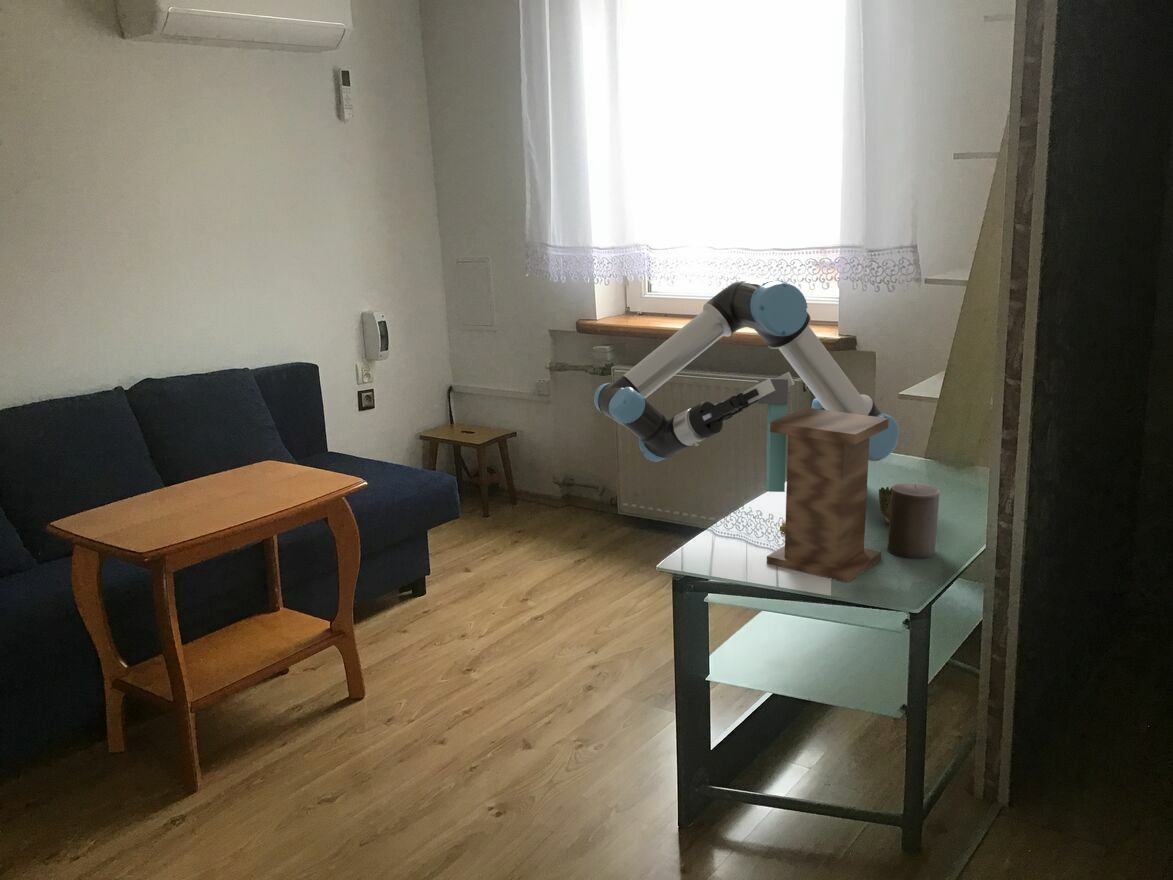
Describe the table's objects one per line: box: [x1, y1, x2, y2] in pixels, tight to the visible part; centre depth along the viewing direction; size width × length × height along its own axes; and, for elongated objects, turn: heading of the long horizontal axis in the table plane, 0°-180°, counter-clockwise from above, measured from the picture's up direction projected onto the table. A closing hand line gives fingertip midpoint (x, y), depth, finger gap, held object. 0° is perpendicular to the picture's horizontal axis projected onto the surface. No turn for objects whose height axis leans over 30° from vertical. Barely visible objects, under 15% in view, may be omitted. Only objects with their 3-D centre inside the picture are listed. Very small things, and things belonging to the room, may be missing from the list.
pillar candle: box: [887, 482, 941, 559], centre depth 221 cm, size 10×10×15 cm
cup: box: [878, 486, 893, 526], centre depth 238 cm, size 8×7×8 cm
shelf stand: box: [766, 407, 889, 583], centre depth 214 cm, size 18×16×30 cm
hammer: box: [757, 378, 789, 493], centre depth 217 cm, size 23×5×5 cm
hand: (781, 381), depth 215 cm, fingers closed on hammer, 8 cm apart
